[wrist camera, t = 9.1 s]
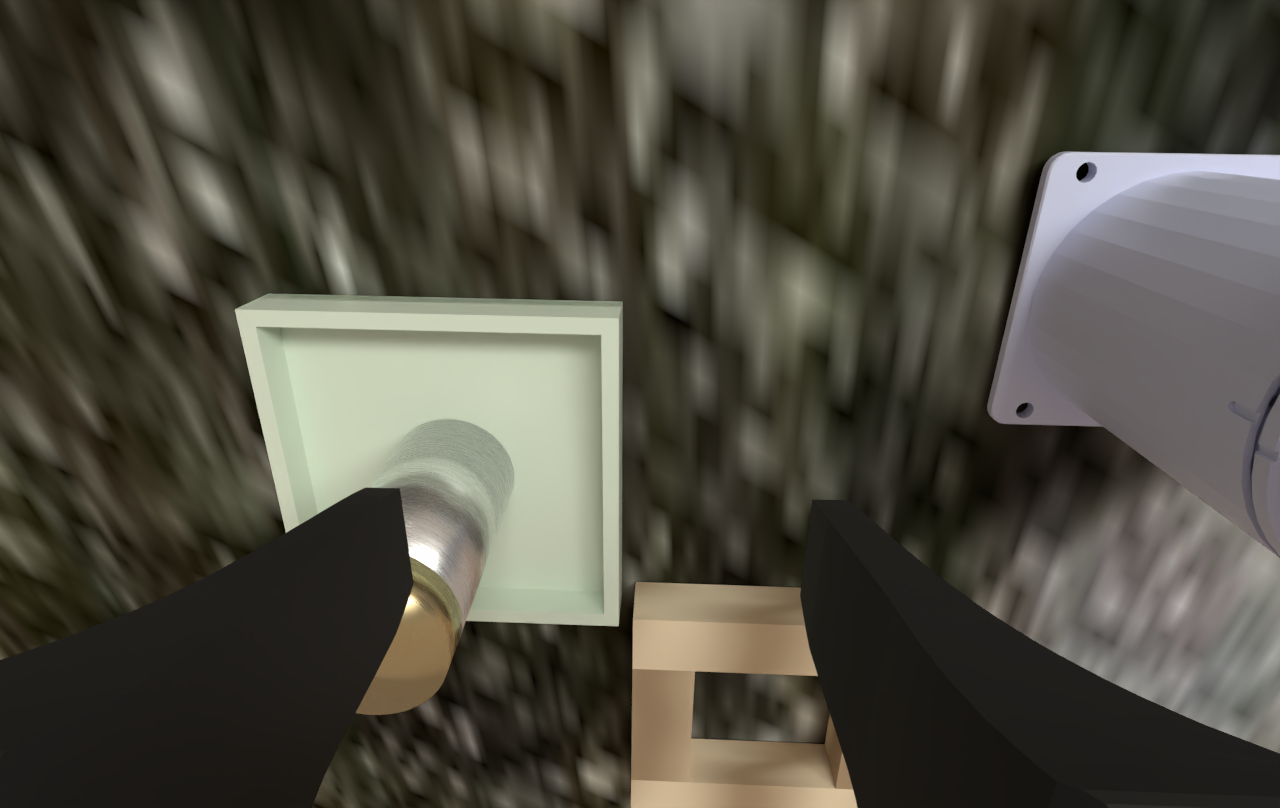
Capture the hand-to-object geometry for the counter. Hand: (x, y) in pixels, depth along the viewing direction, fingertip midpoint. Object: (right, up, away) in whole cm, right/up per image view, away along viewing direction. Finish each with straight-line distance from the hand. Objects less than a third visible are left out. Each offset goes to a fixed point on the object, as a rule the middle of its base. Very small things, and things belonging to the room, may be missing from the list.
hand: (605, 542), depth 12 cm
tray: (-5, +1, +11) cm, 13 cm away
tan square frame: (+5, -9, +15) cm, 18 cm away
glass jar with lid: (-6, 0, +11) cm, 12 cm away
